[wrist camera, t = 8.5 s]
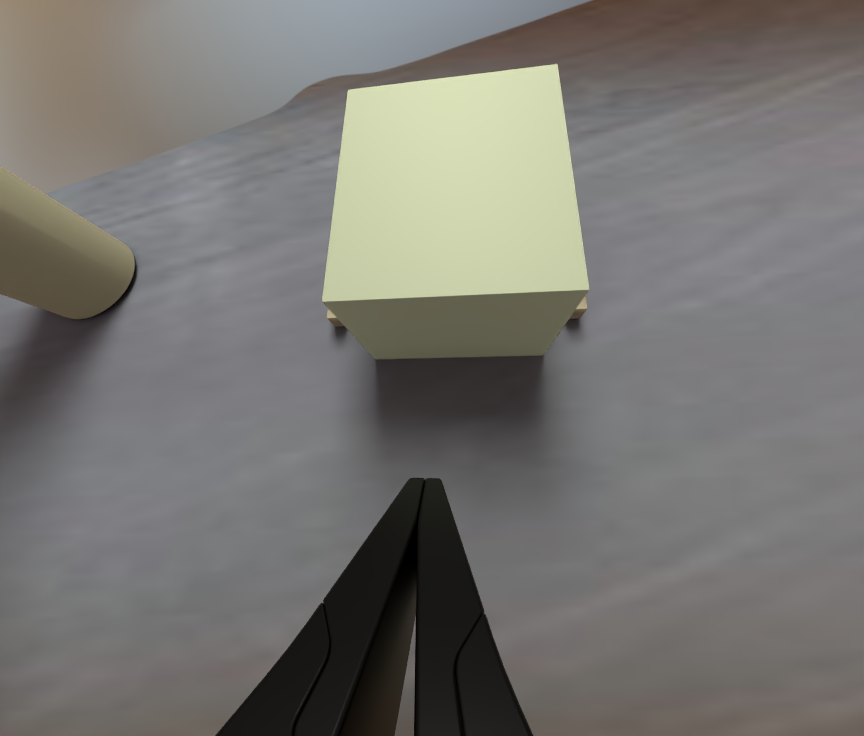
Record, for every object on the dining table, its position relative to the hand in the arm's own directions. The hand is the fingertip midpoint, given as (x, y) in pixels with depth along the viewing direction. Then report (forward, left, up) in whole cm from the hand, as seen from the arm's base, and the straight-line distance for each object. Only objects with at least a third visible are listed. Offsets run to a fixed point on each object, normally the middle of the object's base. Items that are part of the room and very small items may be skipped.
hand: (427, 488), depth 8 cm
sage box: (+10, -11, -13) cm, 20 cm away
